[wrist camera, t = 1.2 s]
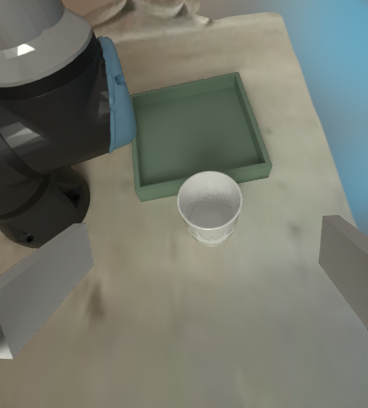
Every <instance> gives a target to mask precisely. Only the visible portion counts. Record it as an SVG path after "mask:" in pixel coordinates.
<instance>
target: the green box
mask: <svg viewBox="0 0 368 408" xmlns="http://www.w3.org/2000/svg"><path fill="white" fill-rule="evenodd" d="M130 99H131V103H132V107H133V111H134V115H135V120H136V126H137V133H136V136H135V138H134V139H133V140H132V141H131V143H132V156H133V169H134V182H135V193H136V194H137V196H138V197H139V199H140V200H141V202H144V201H149V200H154V199H159V198H164V197H169V196H175V195H178V192H179V190H180V188H181V186H182V185H183V183H184V182H185V181H186V180H187V179H188V178H190V177H191V176H193V175H195V174H197V173H200V172H204V171H217V172H221V173H224V174H226V175H228V176H229V177H231V178H232V179H233V180H234V181H235V182H236V183H242V182H247V181H252V180H258V179H263V178H268V177H269V174H270V171H271V168H272V164H271V161H270V158H269V155H268V153H267V150H266V147H265V144H264V142H263V139H262V136H261V133H260V130H259V128H258V125H257V122H256V119H255V117H254V114H253V111H252V108H251V106H250V103H249V100H248V97H247V94H246V92H245V89H244V86H243V83H242V81H241V78H240V75H239V72H235V73H230V74H225V75H221V76H216V77H211V78H207V79H202V80H197V81H193V82H188V83H183V84H179V85H174V86H169V87H165V88H160V89H155V90H151V91H146V92H141V93H137V94H132V95H130Z"/></svg>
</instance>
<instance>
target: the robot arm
mask: <svg viewBox="0 0 368 408" xmlns="http://www.w3.org/2000/svg"><path fill="white" fill-rule="evenodd" d="M136 133H137V126H136V120H135V115H134V111H133V107H132V103H131V99H130V95H129V92H128V88H127V85H126V82H125V81H124V75H123V72H122V67H121V64H120V61H119V58H118V55H117V52H116V49H115V46H114V44H113V41H112V40H111V39H110V38H108V37H102V36H99V37H97V39H96V37H95V34H94V32H93V30H92V27H91V25H90V23H89V21H88V20H87V19H86V18H84V17H83V16H81V15H79V14H77V13H75V12H73V11H71V10H70V9H68V8H66V7H65V6H64V5H63V3H62V1H61V0H0V230H1V232H2V233H3V234H4V235H5V236H6V237H7V238H9V239H10V240H12V241H13V242H15V243H18V244H20V245H23V246H26V247H30V248H39V249H37V250H36V251H34V252H33V253H32V254H30V255H29V256H27V257H26V258H24V259H23V260H22V261H20V262H19V263H17V264H16V265H15V266H13V267H12V268H10V269H9V270H7V271H6V272H4V273H3V274H2V275H0V358H3V359H14V357H15V356H16V355H17V354H18V353H19V352H20V350H21V349H22V348H23V347H24V346H25V345H26V343H27V342H28V341H29V340H30V339H31V338H32V336H33V335H34V334H35V333H36V332H37V331H38V329H39V328H40V327H41V326H42V325H43V324H44V322H45V321H46V320H47V319H48V318H49V317H50V316H51V314H52V313H53V312H54V311H55V310H56V309H57V307H58V306H59V305H60V304H61V303H62V302H63V300H64V299H65V298H66V297H67V296H68V295H69V293H70V292H71V291H72V290H73V289H74V288H75V286H76V285H77V284H78V283H79V282H80V281H81V279H82V278H83V277H84V276H85V275H86V274H87V272H88V271H89V270H90V269H91V268H92V267H93V265H94V260H93V255H92V250H91V246H90V241H89V236H88V231H87V227H86V223H81V222H82V221H83V219H84V217H85V215H86V213H87V210H88V207H89V200H90V196H89V190H88V187H87V184H86V183H85V181H84V180H83V179H82V178H81V177H80V175H79V174H78V173H77V172H75V171H74V170H73V169H71V168H70V166H73V165H76V164H79V163H81V162H84V161H87V160H90V159H92V158H95V157H98V156H101V155H103V154H106V153H108V154H109V153H111V152H113V150H115V149H117V148H119V147H122V146H124V145H126V144H129V143H130V142H131V141H132V140H133V139H134V138H135V136H136ZM319 264H320V265H321V267H322V268H323V269H324V271H325V272H326V274H327V275H328V276H329V278H330V279H331V280H332V282H333V283H334V284H335V286H336V287H337V288H338V290H339V291H340V293H341V294H342V295H343V297H344V298H345V299H346V301H347V302H348V303H349V305H350V306H351V308H352V309H353V310H354V312H355V313H356V314H357V316H358V317H359V318H360V320H361V321H362V322H363V324H364V325H365V327H366V328H367V329H368V237H367V236H366V235H364V234H363V233H362V232H360V231H359V230H358V229H356V228H355V227H354V226H352V225H351V224H350V223H348V222H347V221H346V220H344V219H343V218H342V217H340V216H339V215H335V216H323V220H322V231H321V243H320V254H319Z"/></svg>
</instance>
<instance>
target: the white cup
mask: <svg viewBox="0 0 368 408" xmlns="http://www.w3.org/2000/svg"><path fill="white" fill-rule="evenodd" d="M177 206H178V209H179V212H180V214H181V216H182V218H183V220H184V222H185V224H186V226H187V228H188V230H189V231H190V233H191V234H192V236H193V237H194V238H195V239H196V240H197V242H198V243H200V244H203V245H205V246H219V245H220V244H222V243H224V242H226V241H227V240H228V238H229V237H230V236H231V234H232V232H233V230H234V228H235V225H236V222H237V220H238V216H239V213H240V210H241V207H242V193H241V190H240V188H239V186H238V184H237V183H236V182H235V181H234V180H233V179H232V178H231V177H229V176H228V175H226V174H224V173H221V172H217V171H204V172H200V173H197V174H195V175H193V176H191V177H190V178H188V179H187V180H186V181H185V182H184V183H183V185H182V186H181V188H180V190H179V192H178V196H177Z"/></svg>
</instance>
